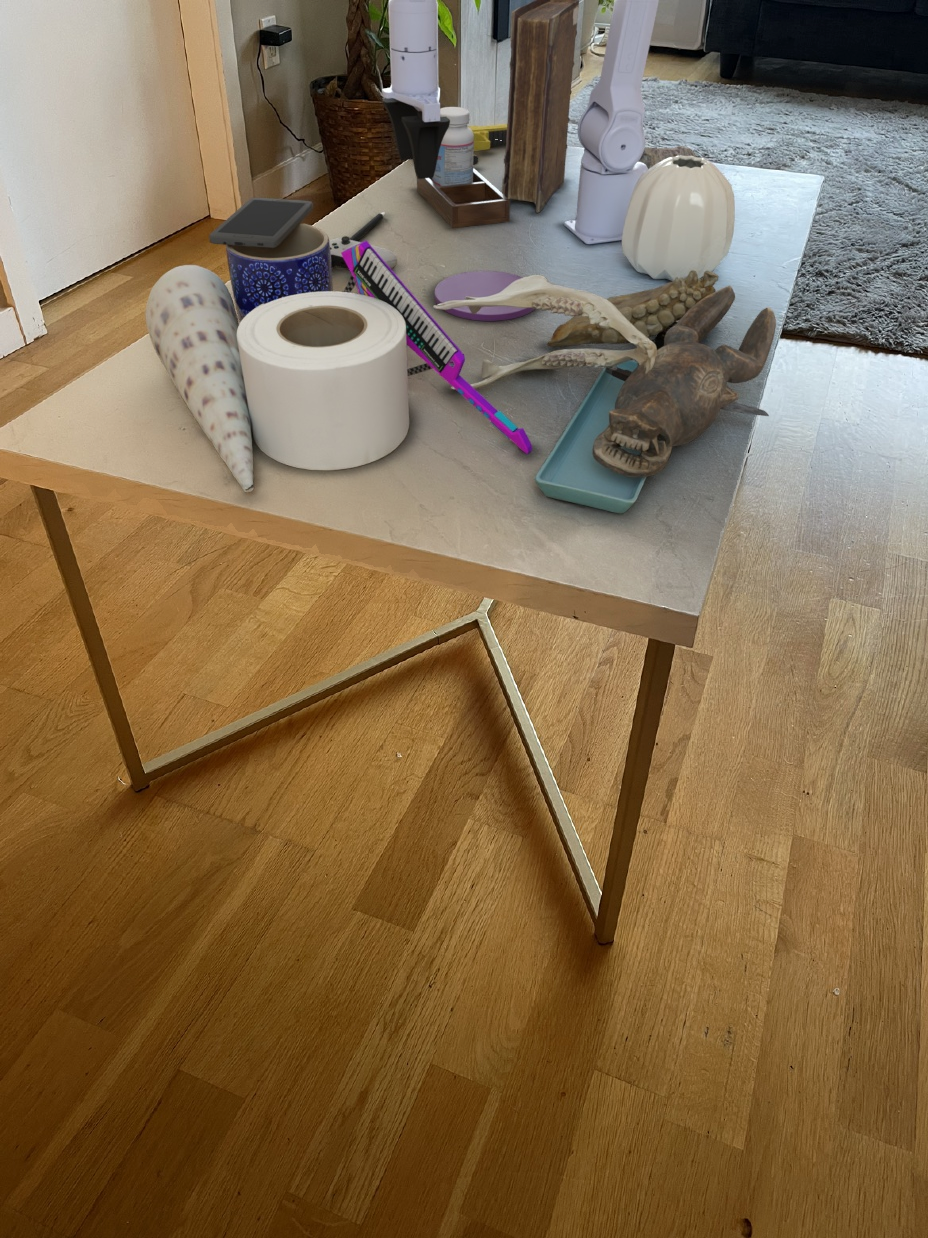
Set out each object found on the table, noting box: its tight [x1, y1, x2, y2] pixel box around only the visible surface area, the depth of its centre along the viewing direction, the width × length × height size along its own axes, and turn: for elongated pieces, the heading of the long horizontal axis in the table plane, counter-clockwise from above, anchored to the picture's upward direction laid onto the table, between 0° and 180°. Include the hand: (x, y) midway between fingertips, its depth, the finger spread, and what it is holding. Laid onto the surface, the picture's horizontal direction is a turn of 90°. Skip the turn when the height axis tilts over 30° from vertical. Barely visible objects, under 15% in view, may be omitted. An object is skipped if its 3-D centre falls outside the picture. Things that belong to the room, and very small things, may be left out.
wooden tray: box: [416, 167, 511, 229], centre depth 141 cm, size 9×16×3 cm, turn 20°
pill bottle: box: [432, 106, 475, 186], centre depth 140 cm, size 6×6×11 cm
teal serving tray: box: [534, 359, 648, 514], centre depth 92 cm, size 26×9×2 cm, turn 159°
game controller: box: [329, 235, 398, 271], centre depth 123 cm, size 10×5×6 cm
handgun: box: [467, 123, 507, 167], centre depth 160 cm, size 4×26×15 cm
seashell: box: [144, 264, 255, 493], centre depth 93 cm, size 9×34×10 cm, turn 13°
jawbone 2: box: [546, 270, 719, 349], centre depth 106 cm, size 12×7×20 cm
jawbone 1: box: [432, 274, 657, 391], centre depth 91 cm, size 25×10×14 cm
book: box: [501, 0, 580, 214], centre depth 137 cm, size 17×7×25 cm, turn 154°
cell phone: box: [208, 197, 314, 248], centre depth 103 cm, size 7×14×1 cm, turn 170°
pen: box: [349, 211, 386, 242], centre depth 131 cm, size 1×19×1 cm, turn 161°
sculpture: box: [592, 285, 777, 478], centre depth 89 cm, size 10×26×7 cm, turn 144°
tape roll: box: [237, 290, 410, 471], centre depth 91 cm, size 16×15×11 cm
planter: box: [225, 222, 334, 323], centre depth 105 cm, size 11×11×11 cm
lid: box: [434, 270, 535, 322], centre depth 117 cm, size 13×13×1 cm
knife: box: [605, 366, 770, 417], centre depth 95 cm, size 17×1×3 cm
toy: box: [341, 240, 533, 455], centre depth 95 cm, size 24×2×20 cm
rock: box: [638, 145, 697, 169], centre depth 150 cm, size 13×6×10 cm
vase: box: [621, 155, 736, 282], centre depth 120 cm, size 14×14×13 cm
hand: (416, 167), depth 123 cm, fingers open, 7 cm apart
